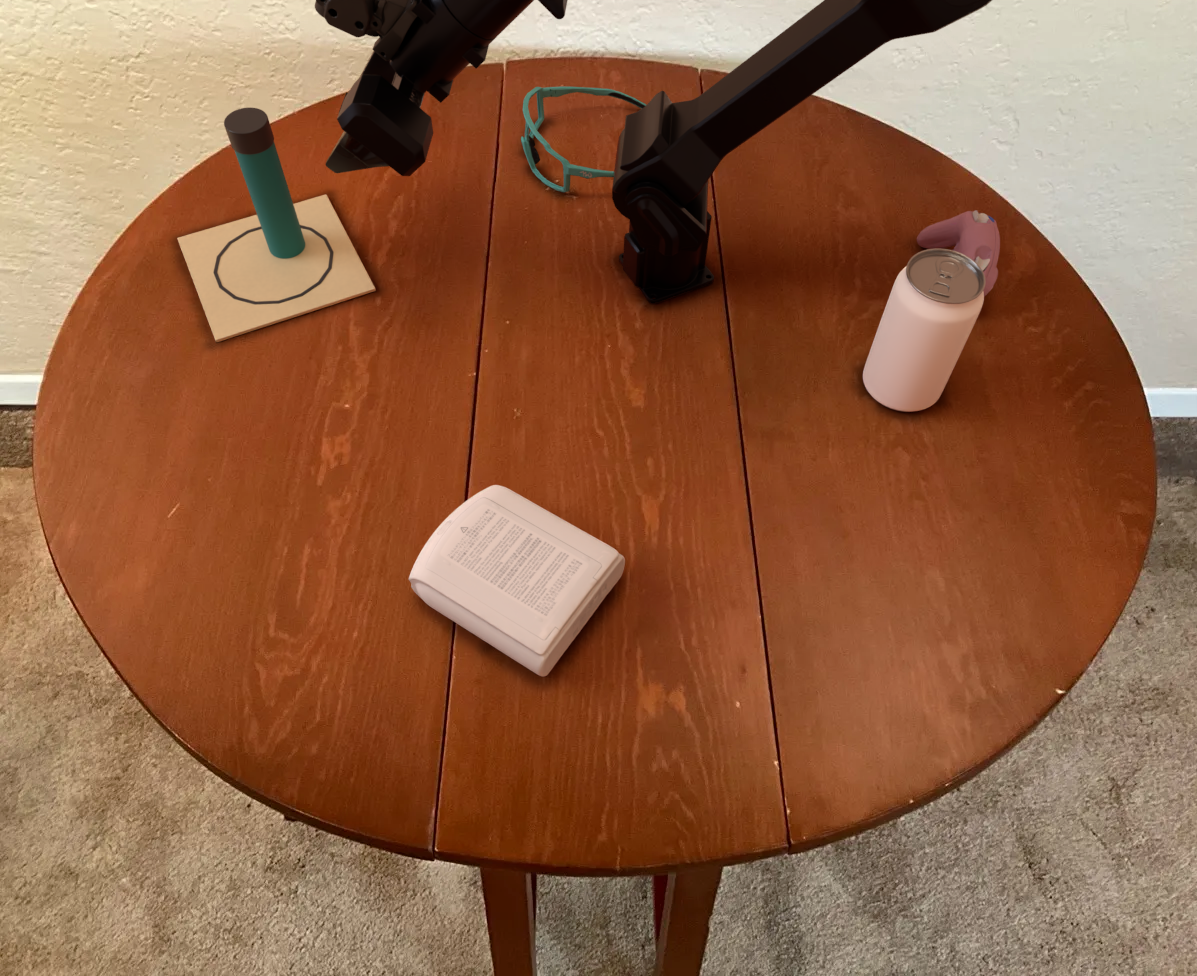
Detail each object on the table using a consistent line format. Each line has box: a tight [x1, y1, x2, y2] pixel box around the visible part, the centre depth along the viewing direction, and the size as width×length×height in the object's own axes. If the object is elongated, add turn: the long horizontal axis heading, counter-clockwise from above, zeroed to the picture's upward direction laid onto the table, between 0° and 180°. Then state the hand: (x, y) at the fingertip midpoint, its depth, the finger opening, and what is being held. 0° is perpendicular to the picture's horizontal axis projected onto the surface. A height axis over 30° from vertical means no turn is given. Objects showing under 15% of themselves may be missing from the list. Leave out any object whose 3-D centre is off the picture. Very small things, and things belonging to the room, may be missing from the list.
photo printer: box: [408, 484, 626, 677], centre depth 66 cm, size 10×4×12 cm
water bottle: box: [223, 107, 305, 259], centre depth 82 cm, size 3×3×13 cm
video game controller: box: [916, 209, 1001, 297], centre depth 84 cm, size 10×5×7 cm, turn 168°
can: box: [862, 248, 986, 413], centre depth 74 cm, size 6×6×12 cm
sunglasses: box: [520, 85, 647, 193], centre depth 94 cm, size 14×15×5 cm
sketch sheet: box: [176, 193, 377, 343], centre depth 86 cm, size 14×14×1 cm
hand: (344, 131), depth 77 cm, fingers open, 9 cm apart
